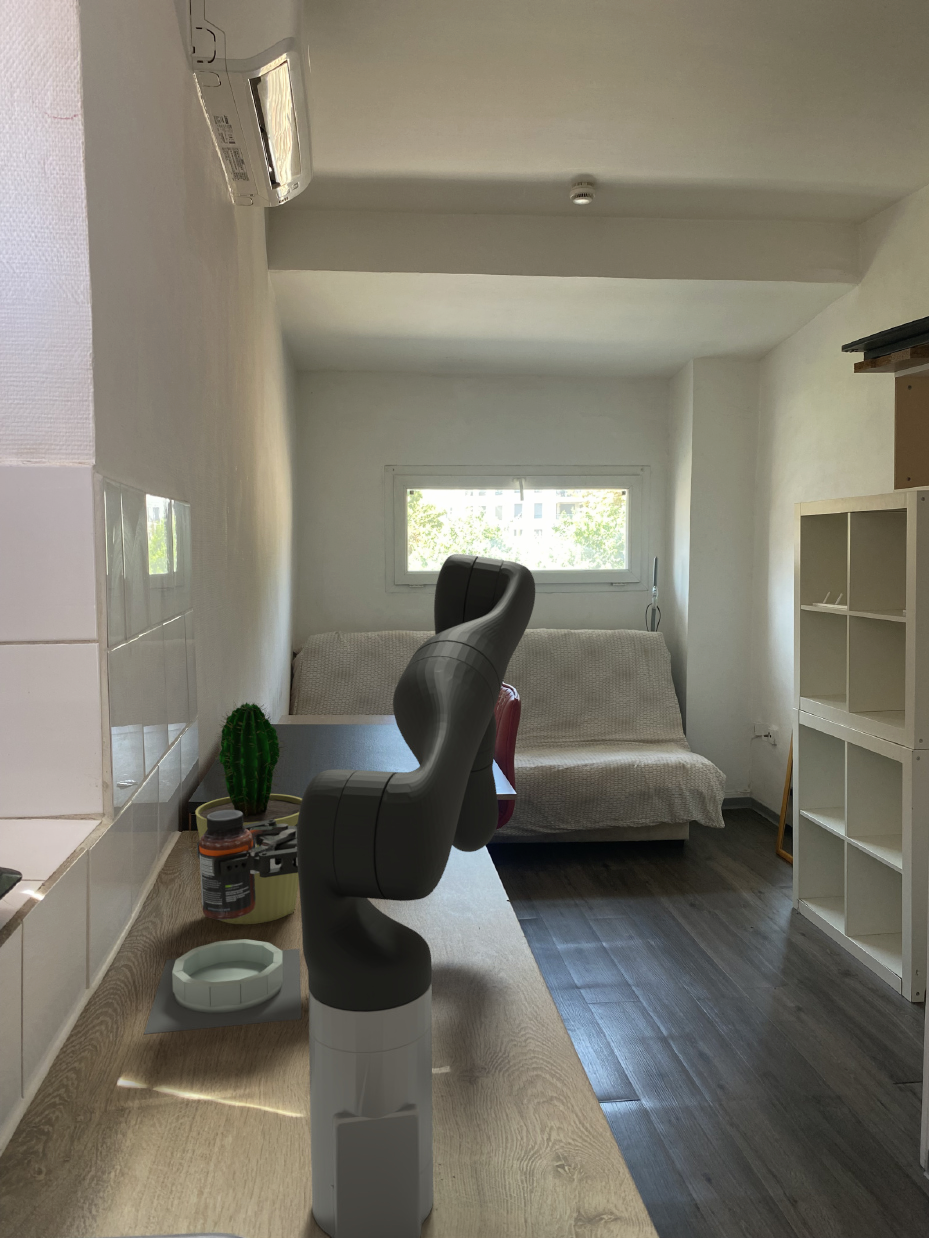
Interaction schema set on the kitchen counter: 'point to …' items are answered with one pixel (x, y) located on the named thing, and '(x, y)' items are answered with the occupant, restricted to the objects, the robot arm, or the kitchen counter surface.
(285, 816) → the potted cactus
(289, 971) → the mat
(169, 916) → the kitchen counter surface
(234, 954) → the bowl
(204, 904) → the supplement bottle
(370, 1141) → the robot arm
